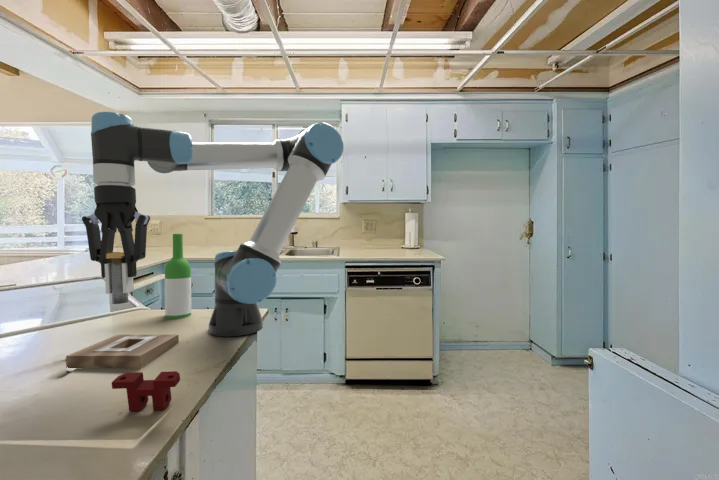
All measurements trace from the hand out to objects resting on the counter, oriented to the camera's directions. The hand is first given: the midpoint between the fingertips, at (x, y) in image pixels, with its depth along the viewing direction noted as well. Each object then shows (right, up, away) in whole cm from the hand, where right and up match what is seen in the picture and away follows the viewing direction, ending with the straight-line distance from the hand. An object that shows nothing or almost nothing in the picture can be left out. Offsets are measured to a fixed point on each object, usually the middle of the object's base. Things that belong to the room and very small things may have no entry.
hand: (120, 292), depth 77 cm
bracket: (+12, -14, -18) cm, 26 cm away
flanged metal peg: (0, -2, 0) cm, 2 cm away
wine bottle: (-7, -17, +39) cm, 43 cm away
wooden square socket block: (-2, -17, +6) cm, 18 cm away
